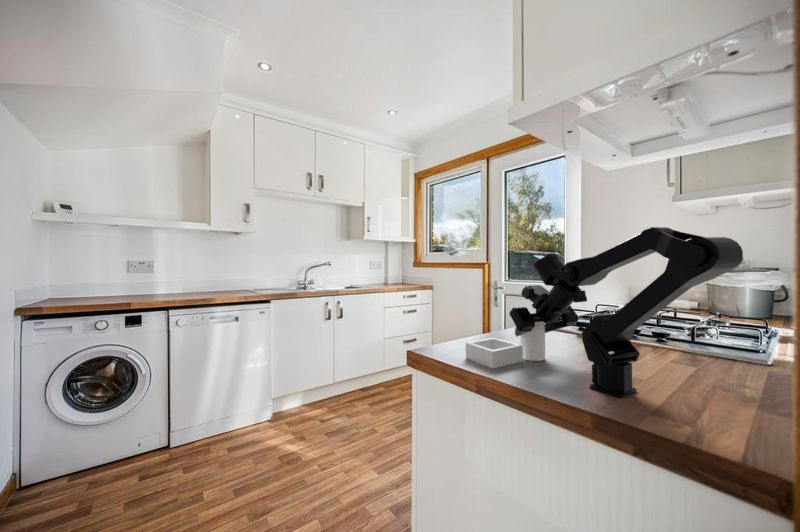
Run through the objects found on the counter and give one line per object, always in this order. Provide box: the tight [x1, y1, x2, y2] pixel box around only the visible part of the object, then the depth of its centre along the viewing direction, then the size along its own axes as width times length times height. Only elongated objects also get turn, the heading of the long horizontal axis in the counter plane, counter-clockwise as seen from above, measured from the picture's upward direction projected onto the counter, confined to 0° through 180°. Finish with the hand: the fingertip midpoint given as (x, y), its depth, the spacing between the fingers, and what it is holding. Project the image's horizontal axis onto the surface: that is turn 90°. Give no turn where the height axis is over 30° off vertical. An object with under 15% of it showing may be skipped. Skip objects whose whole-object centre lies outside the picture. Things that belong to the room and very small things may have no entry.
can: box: [519, 322, 546, 362], centre depth 94 cm, size 6×6×12 cm
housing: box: [465, 337, 524, 370], centre depth 94 cm, size 11×11×4 cm
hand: (529, 333), depth 95 cm, fingers open, 9 cm apart
